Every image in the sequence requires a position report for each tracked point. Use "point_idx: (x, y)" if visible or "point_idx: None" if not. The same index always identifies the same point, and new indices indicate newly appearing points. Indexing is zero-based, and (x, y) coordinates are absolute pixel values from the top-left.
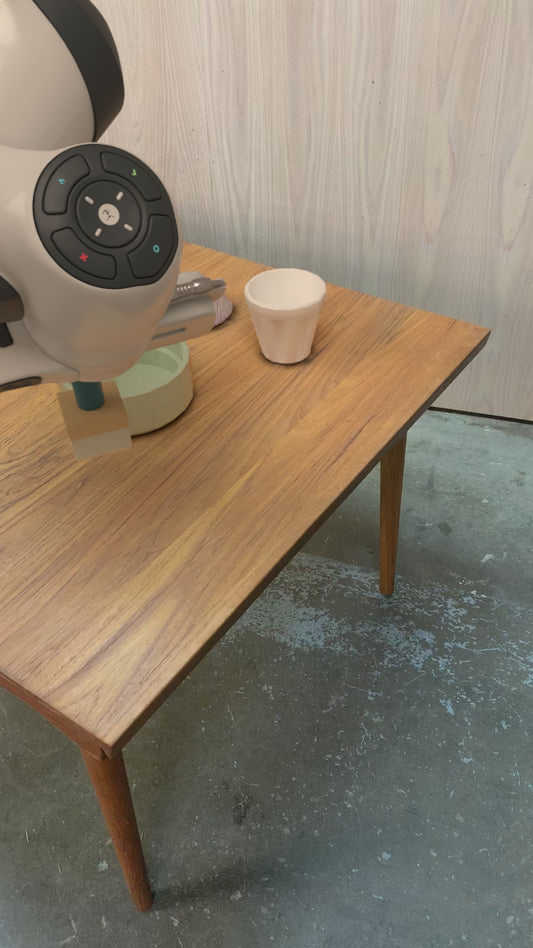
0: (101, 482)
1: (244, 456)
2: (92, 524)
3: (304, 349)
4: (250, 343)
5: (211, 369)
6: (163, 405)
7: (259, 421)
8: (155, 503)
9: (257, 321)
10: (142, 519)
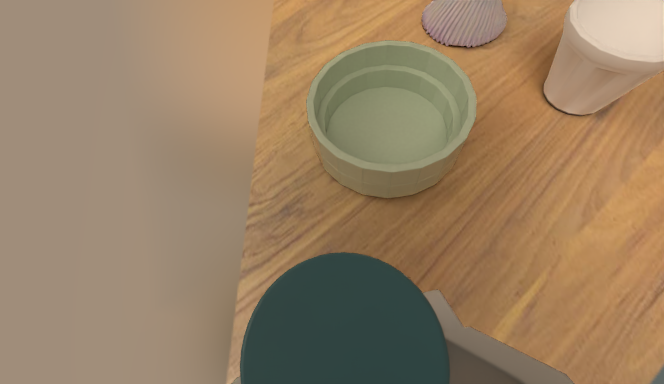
0: None
1: (522, 261)
2: None
3: (609, 102)
4: (526, 74)
5: (479, 106)
6: (431, 175)
7: (540, 203)
8: None
9: (569, 62)
10: None
